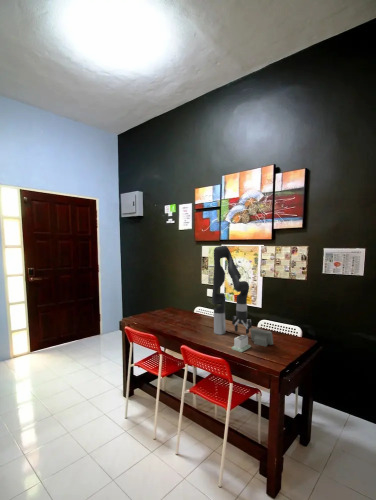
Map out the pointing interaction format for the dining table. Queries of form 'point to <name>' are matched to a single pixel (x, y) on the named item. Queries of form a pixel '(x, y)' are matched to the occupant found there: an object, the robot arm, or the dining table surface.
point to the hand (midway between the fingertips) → (241, 332)
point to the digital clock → (261, 337)
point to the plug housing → (241, 341)
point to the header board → (242, 348)
